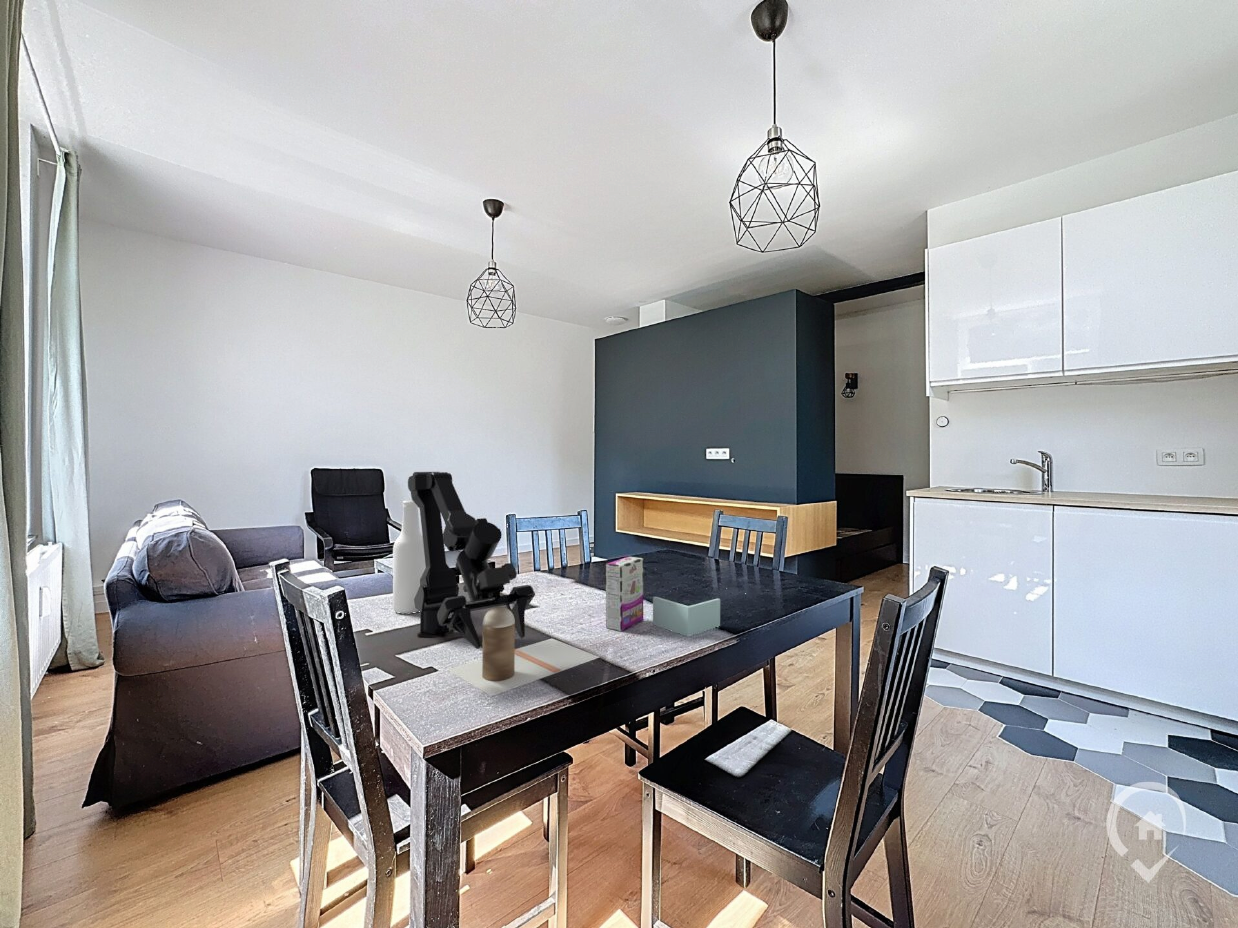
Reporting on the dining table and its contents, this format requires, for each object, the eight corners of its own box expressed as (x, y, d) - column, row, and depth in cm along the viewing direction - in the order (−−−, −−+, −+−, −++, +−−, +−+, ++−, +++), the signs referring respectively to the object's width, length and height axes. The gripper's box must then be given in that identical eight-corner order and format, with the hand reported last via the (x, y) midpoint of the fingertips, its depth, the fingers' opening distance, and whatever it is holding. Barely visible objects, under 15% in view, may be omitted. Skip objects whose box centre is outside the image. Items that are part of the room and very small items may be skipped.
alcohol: (393, 616, 142) (393, 502, 142) (393, 607, 150) (393, 499, 150) (428, 612, 146) (428, 501, 145) (426, 604, 154) (426, 498, 153)
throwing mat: (491, 700, 94) (491, 694, 94) (446, 673, 106) (447, 668, 106) (599, 660, 113) (599, 656, 113) (551, 641, 124) (551, 637, 124)
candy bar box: (627, 617, 144) (628, 555, 143) (643, 620, 141) (644, 557, 141) (604, 628, 134) (604, 562, 134) (621, 632, 131) (622, 565, 131)
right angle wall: (719, 628, 137) (720, 599, 137) (687, 638, 129) (688, 607, 129) (684, 617, 146) (685, 589, 146) (652, 626, 138) (653, 597, 138)
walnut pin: (478, 680, 101) (478, 611, 100) (487, 667, 107) (487, 602, 106) (510, 681, 100) (510, 612, 100) (517, 668, 106) (518, 603, 106)
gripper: (443, 555, 100) (467, 629, 92) (531, 545, 112) (559, 610, 104) (427, 589, 107) (449, 661, 98) (512, 576, 118) (538, 640, 110)
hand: (501, 642), depth 102 cm, fingers open, 9 cm apart
